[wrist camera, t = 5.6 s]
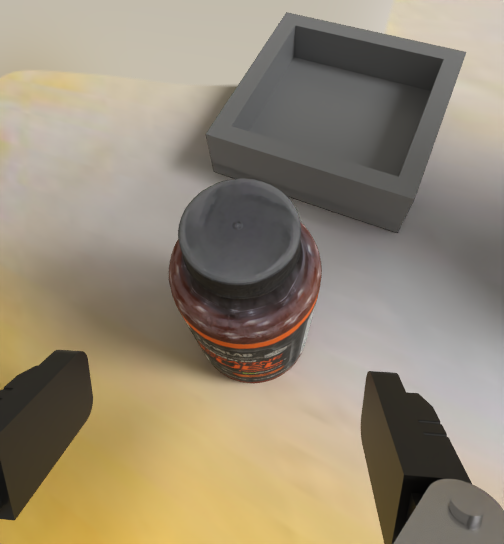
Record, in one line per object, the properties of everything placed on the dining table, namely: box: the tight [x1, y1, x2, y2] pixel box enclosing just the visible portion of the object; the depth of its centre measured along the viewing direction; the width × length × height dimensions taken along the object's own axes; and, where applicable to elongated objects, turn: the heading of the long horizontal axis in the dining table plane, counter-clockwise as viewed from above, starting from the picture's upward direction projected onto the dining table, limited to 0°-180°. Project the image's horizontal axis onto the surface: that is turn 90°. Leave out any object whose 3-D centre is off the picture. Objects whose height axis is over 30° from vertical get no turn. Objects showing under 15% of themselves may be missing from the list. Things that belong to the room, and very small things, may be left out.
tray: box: [206, 13, 466, 233], centre depth 28 cm, size 13×13×4 cm
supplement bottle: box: [169, 178, 322, 383], centre depth 18 cm, size 6×6×11 cm
